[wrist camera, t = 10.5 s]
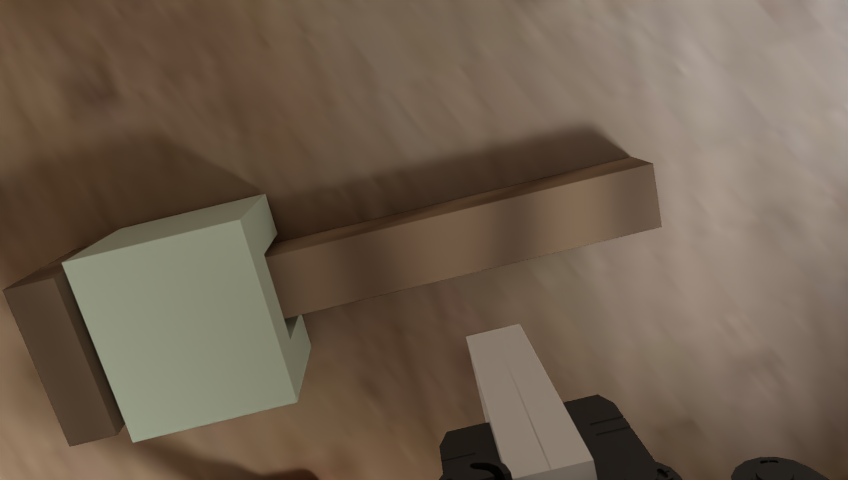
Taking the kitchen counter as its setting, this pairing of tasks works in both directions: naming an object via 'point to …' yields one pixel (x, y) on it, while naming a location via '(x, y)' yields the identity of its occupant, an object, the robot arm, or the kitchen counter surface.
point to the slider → (190, 318)
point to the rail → (353, 268)
